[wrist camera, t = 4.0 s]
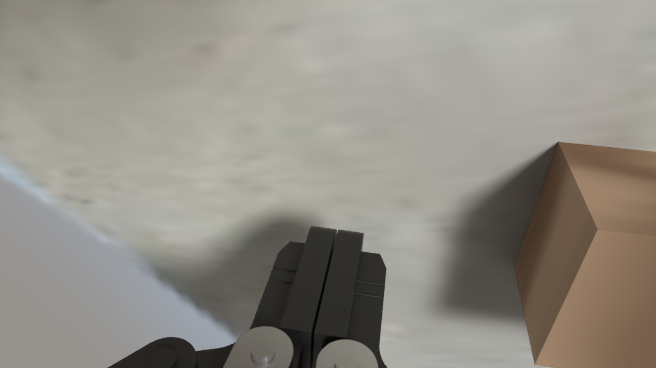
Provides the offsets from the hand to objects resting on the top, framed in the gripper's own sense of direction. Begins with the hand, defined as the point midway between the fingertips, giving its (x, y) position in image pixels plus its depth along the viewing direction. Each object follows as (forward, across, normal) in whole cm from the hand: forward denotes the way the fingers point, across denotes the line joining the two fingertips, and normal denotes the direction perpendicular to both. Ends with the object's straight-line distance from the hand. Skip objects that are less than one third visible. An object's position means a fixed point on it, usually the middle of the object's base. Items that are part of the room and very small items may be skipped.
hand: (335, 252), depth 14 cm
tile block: (+3, -8, 0) cm, 9 cm away
